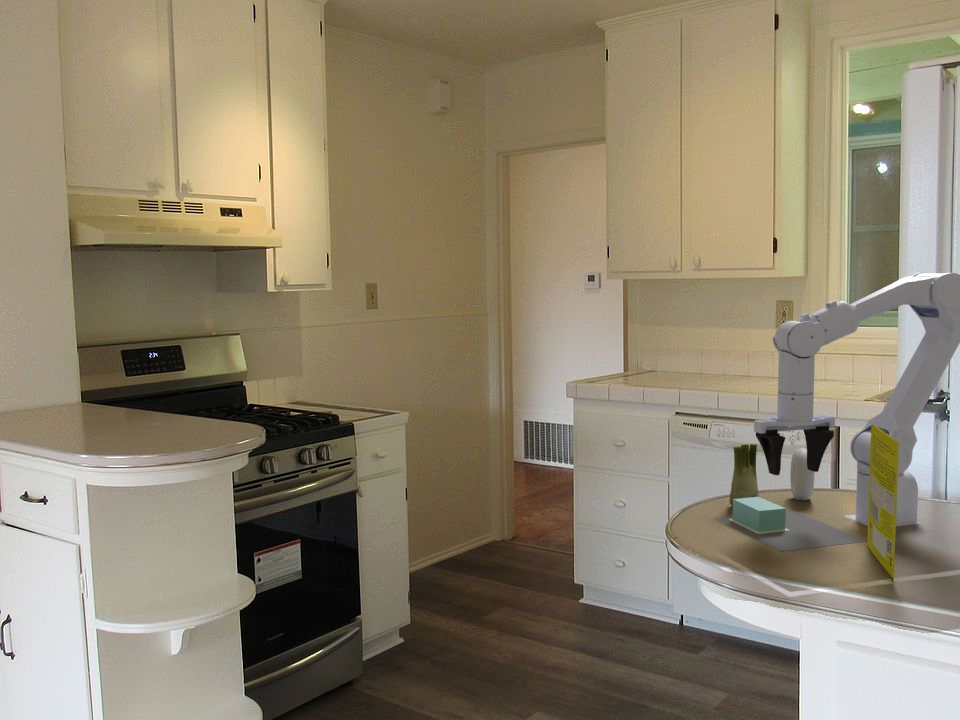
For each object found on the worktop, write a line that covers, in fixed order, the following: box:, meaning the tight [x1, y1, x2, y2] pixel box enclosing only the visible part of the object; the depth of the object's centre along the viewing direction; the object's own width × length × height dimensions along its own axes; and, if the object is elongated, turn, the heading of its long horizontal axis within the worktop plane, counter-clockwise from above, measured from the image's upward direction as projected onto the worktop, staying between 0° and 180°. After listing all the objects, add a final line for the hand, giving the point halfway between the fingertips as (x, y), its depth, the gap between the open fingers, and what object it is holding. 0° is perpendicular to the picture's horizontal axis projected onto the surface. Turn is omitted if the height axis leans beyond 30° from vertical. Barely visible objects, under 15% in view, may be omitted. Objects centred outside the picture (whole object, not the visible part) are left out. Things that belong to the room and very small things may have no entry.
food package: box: [866, 424, 899, 584], centre depth 135 cm, size 15×1×20 cm, turn 170°
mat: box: [715, 510, 867, 552], centre depth 152 cm, size 16×19×1 cm
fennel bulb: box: [729, 443, 759, 507], centre depth 167 cm, size 6×5×12 cm
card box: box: [732, 496, 787, 532], centre depth 155 cm, size 8×5×4 cm, turn 16°
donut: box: [789, 447, 815, 502], centre depth 172 cm, size 10×3×10 cm, turn 168°
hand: (793, 472), depth 155 cm, fingers open, 7 cm apart
